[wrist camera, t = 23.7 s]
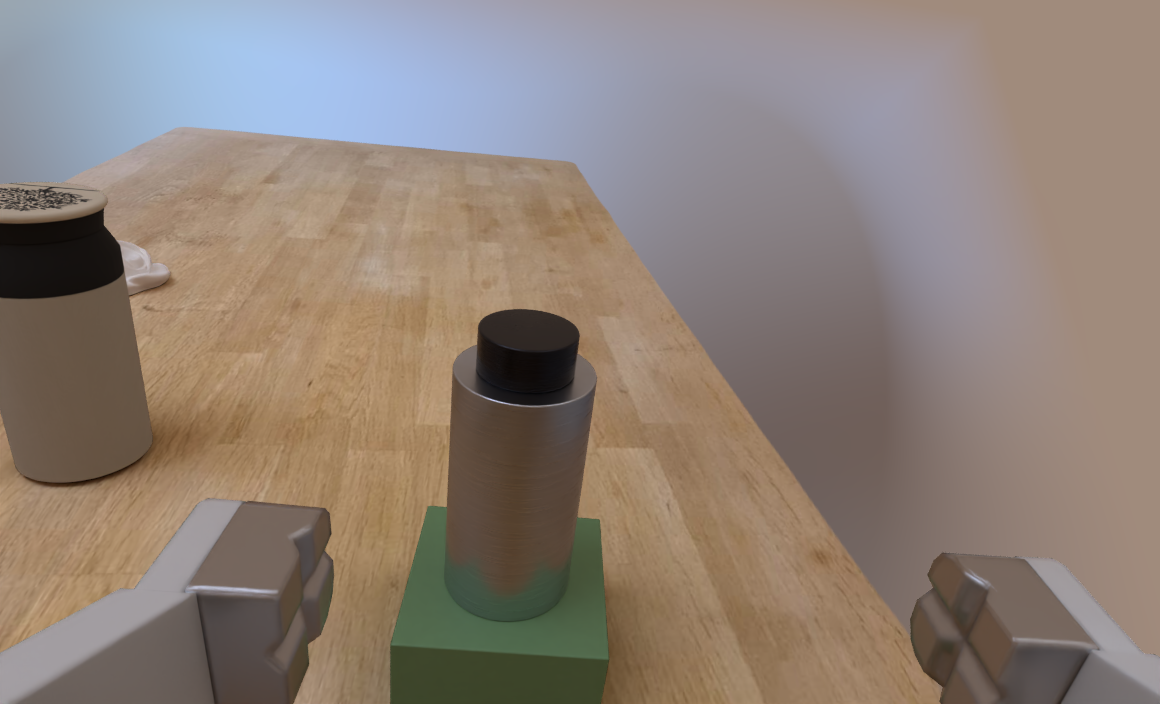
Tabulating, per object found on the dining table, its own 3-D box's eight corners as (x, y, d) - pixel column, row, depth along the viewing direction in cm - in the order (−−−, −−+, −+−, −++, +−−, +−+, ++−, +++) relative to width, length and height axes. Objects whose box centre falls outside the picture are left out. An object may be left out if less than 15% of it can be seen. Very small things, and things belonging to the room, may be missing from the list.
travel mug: (107, 494, 46) (50, 223, 38) (-15, 478, 46) (-98, 205, 38) (176, 429, 53) (139, 190, 46) (70, 416, 53) (15, 174, 46)
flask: (568, 537, 40) (600, 307, 34) (568, 626, 34) (605, 369, 28) (454, 528, 40) (465, 294, 34) (434, 616, 34) (443, 353, 28)
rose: (66, 227, 76) (170, 226, 80) (74, 266, 78) (175, 264, 82) (44, 258, 68) (160, 256, 72) (53, 301, 70) (167, 297, 74)
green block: (589, 583, 44) (599, 518, 42) (596, 731, 35) (609, 659, 33) (426, 571, 43) (428, 505, 41) (390, 719, 34) (390, 644, 32)
